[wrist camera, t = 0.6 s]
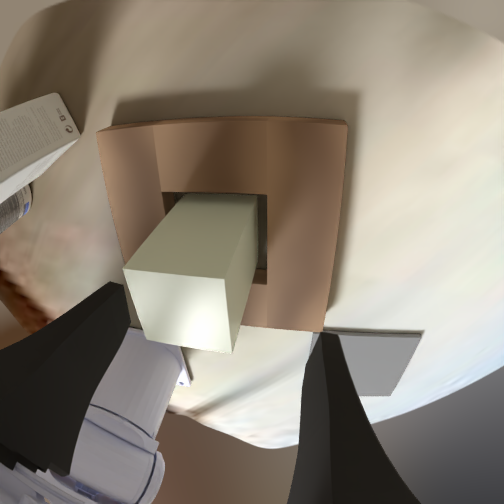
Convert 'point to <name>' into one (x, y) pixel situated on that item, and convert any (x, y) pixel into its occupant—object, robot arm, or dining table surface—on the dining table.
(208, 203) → the sage block
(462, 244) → the dining table surface
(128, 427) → the robot arm
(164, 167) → the pocket block
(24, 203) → the pill bottle
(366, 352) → the rubber pad
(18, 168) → the skincare box
